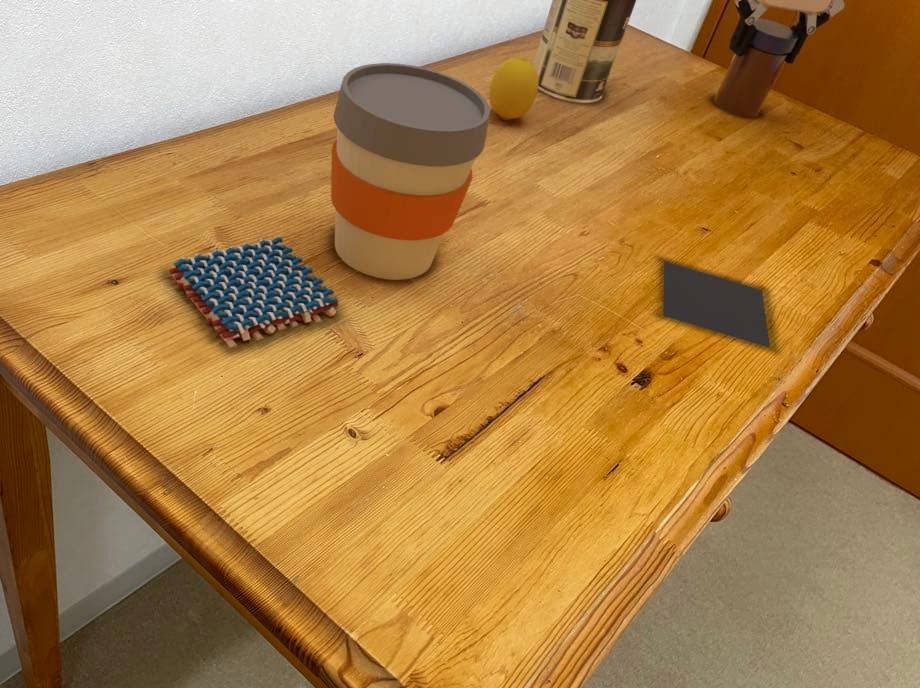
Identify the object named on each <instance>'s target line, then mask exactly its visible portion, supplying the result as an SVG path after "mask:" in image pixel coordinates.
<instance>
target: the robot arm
mask: <svg viewBox="0 0 920 688" xmlns="http://www.w3.org/2000/svg"><path fill="white" fill-rule="evenodd" d="M734 5H735V8H736V11H737V16H738V18H739V20H738V23H737V24H736V27H735V29H734V31H733V33H732V36H731V38H730V41H729V46H728V47H729V49H730V51H732V53H734V55H735V54H736V55H737V56H743V55H744V53H745V51H746V49H747V47H748V45H749V43H750V40H751V38H752V36H753V34H754V32H755V30H756V27H755V26H754V25H753V24H754V23H755V22H756V21H757V19H760V18H761V16H762V15H764V13H765V12H766V11H768V9H770V8H775V9H780V10H781V9H783V10H788V11H794V12H797V19H796V25H794V24H792V25H791V26H790V27H789V28H790V29H792V30H794V31H795V32H796V33H797V34H798V35H799V38H798V40H797V42H796V44H795V46H794V48H793V50H792V51H791V52H790V53H788V56H787V58H786V60H785V63H787V64H790V65H791V64H793V63H794V61H795V60H796V58H797V56H798V55H799V53H800V51H801V49H802V47H804V46H803V45H804V43H805V42H806V40H807V38H808V36H809V35H813V34H814V33H815V31H816V30H817V29H818V28H819V27H821V26H822V25H824V24H825V23H827V22H828V21H829V20H830V18H833V17H834V16H835V15H836V14H838V13H840V12H841V11H842V10H843V9H844V8H845V2H844V0H734Z"/></svg>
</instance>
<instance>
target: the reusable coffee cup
mask: <svg viewBox="0 0 920 688" xmlns="http://www.w3.org/2000/svg"><path fill="white" fill-rule="evenodd" d="M339 88H340V89H339V92H338V97H337V101H336V104H335V108H334V113H333V120H334V124H335V126H336V139H335V140H334V142H333V143H332V147H331V163H330V164H331V167H330V168H331V169H330V171H331V172H330V199H331V204H332V206H333V208H334V209H335V210H334V211H335V212H334V213H335V215H334V249H335V251H336V253H337V255H338V256H339V258H340V259H341V260H342V261H343V262H344V263H345V264H346V265H348V266H349V267H351V268H352V269H354V270H356V271H357V272H359V273H362V274H364V275H367V276H370V277H374V278H378V279H384V280H391V281H394V280H395V281H398V280H399V281H400V280H401V281H403V280H409V279H413V278H416V277H419V276H422V275H423V274H424V273H426V272H427V271H428V270H429V269H430V268H431V266H432V263H433V262H434V258H435V256H436V254H437V252H438V249H439V246H440V245H441V241H442V240H443V238H444V234H445V233H447V232H448V231H449V230H451V228H452V227H453V225H454V223H455V221H456V218H457V216H458V214H459V211H460V209H461V206H462V204H463V202H464V200H465V197H466V195H467V192H468V191H469V188H470V185H471V183H472V181H473V170H472V168H473V166H474V163H475V160H476V158H478V157H479V156H480V155H481V154H482V153H483V151H484V149H485V147H486V140H487V135H488V128H489V122H490V116H491V109H490V105H489V103H488V101H487V99H485V97H484V96H483V95H482V94H481V93H480V92H478V91H477V90H476V89H475V88H473V86H470V85H469V84H467V83H465V82H464V81H462V80H460V79H458V78H456V77H454V76H451V75H448V74H446V73H443V72H440V71H437V70H433V69H430V68H426V67H421V66H416V65H411V64H403V63H391V62H390V63H389V62H382V63H370V64H364V65H360V66H357V67H355V68H352V69H351V70H350V71H348V72H347V73H346V74H344V76H343V77H342V81H341V84H340V87H339Z"/></svg>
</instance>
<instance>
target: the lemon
mask: <svg viewBox="0 0 920 688" xmlns="http://www.w3.org/2000/svg"><path fill="white" fill-rule="evenodd" d="M538 90H539V89H538V73H537V70H536V68H535V67H534V63H532V61H530V60H528V57H527V56H525V55H519V56H516V57H515V56H514V57H511V58H509V59H507V60H505V61H503V62H502V63H501V64H500V66H499V67H498V68H497V70H496V71H495V73H494V75H493V77H492V80H491V82H490V87H489V102H490V106H491V108H492V111H494V112H495V113H496V114H497V115H499V117H500V119H502V120H503V121H510V120H515V119H519V118H521V117H523V116H524V115H525V114H527V112H529V111H530V109H531V108H532V107H533V105H534V103H535V100H536V98H537V94H538Z"/></svg>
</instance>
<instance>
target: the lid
mask: <svg viewBox="0 0 920 688" xmlns="http://www.w3.org/2000/svg"><path fill="white" fill-rule="evenodd" d="M753 25H754V26H755V27H756V30H755V32H754V34H753V36H752V38H751V40H750V44H752V45H754V46H756V47H758V48H761V49H764V50H767V51H771V52H775V53H790V52H791V51H792V50H793V48H794V46H795V44H796V42H797V40H798V38H799V35H798V34H797V33H796V32H795V31H794V30H792V29H790V28H791V27H788V26H786V25H785V24H781V23H779V22H777V21H774V20H769V19H765V18H758V19H757V21H756V22H755V23H754V24H753Z"/></svg>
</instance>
